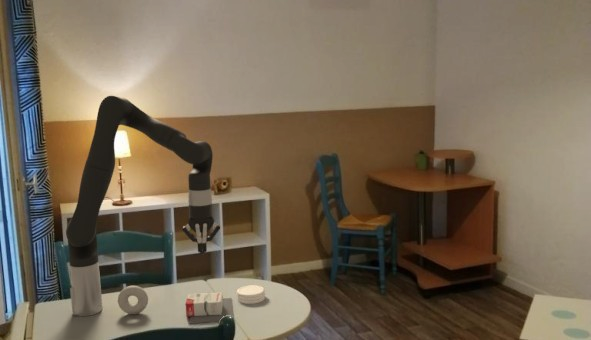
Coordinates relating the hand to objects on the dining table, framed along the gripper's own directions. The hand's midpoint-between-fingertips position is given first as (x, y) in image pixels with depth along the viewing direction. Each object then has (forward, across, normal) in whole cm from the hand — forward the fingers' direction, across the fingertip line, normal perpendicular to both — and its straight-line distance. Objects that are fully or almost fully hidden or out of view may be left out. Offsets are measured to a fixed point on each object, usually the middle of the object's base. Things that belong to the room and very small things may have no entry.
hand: (202, 253), depth 188 cm
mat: (+20, +2, 0) cm, 21 cm away
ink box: (+18, -6, 0) cm, 19 cm away
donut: (+21, -24, +3) cm, 32 cm away
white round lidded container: (+21, +16, +8) cm, 28 cm away
